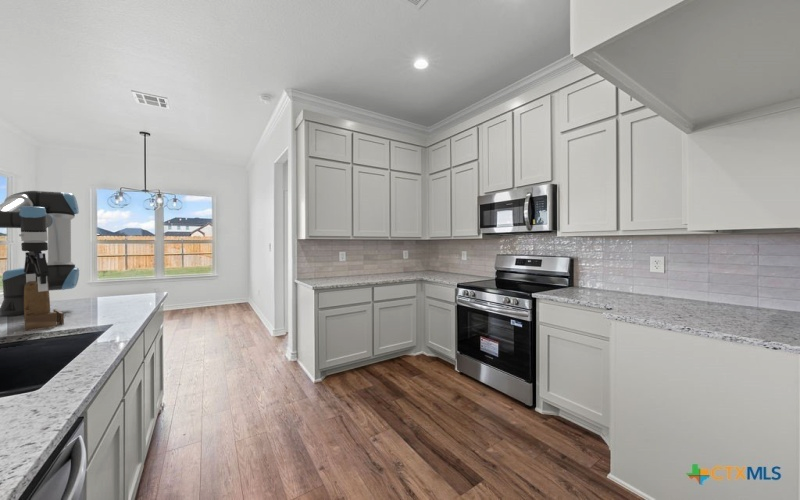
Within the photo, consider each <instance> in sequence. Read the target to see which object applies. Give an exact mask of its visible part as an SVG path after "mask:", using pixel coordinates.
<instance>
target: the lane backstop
mask: <svg viewBox="0 0 800 500" xmlns="http://www.w3.org/2000/svg"><path fill="white" fill-rule="evenodd" d="M57 326H58V322H57V313H56V312H50V313H46V314H39V315H32V316H25V318H24V330H25V331H26V332H28V330H29V331H34V330H40V329H48V328H52V327H57Z"/></svg>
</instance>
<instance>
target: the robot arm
mask: <svg viewBox="0 0 800 500" xmlns="http://www.w3.org/2000/svg"><path fill="white" fill-rule="evenodd" d="M79 213H80V211H79V205H78V201H77V198H76V196H75V194H74V193H71V192H62V191H44V190H43V191H42V190H26V191H22V192H21V191H20V192H18V193H17V192H16V193H12V194H11V195H9V196H6V198H5V199H4V201H3V202H1V204H0V228H1V229H20V234H19V235H18V236H19V237H20V238H21V251H22V252H25V258H24V259H25V260H24V266H23V267H21V268H20V267H19V268H15V269H14V268H13V269H8V270H5V271H3V272H2V280H1V281H2V292H3V300H2V303H1V305H0V317H11V316H12V317H13V316H22V315H23V316H24V286H25V284H26V283H27V282H29V281H38V292H42V291H48V287H49V292H50V291H61V290H62V291H64V290H72V289H74V288H76V287H77V284H78V281H79V277H80V269H79V268H78V267H76V264H75V263H73V262H72V220H73V219H75V217H76V216H75V215H78V214H79ZM43 251H45V252H46V251H47V259H46V253H45V252H44V253H42V252H43ZM47 281H48V283H47Z"/></svg>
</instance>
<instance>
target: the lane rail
mask: <svg viewBox="0 0 800 500" xmlns="http://www.w3.org/2000/svg"><path fill="white" fill-rule="evenodd" d="M52 311H53V312H56V313H57V324H58V323H59V324H60V325H64V324H65V320H64V312H63V311H60V310H58V309H56V308H55V309H53V310H52ZM53 312H52V313H53Z"/></svg>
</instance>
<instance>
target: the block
mask: <svg viewBox="0 0 800 500" xmlns="http://www.w3.org/2000/svg"><path fill="white" fill-rule="evenodd" d="M47 283H48V281H47ZM50 298H51V297H50V291H49V287H48V291H42V292H38V281H29V282H27V283H26V284H25V286H24V315H23V317H24V319H25V316H32V315H39V314H46V313H51V302H50V301H51V300H50Z"/></svg>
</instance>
